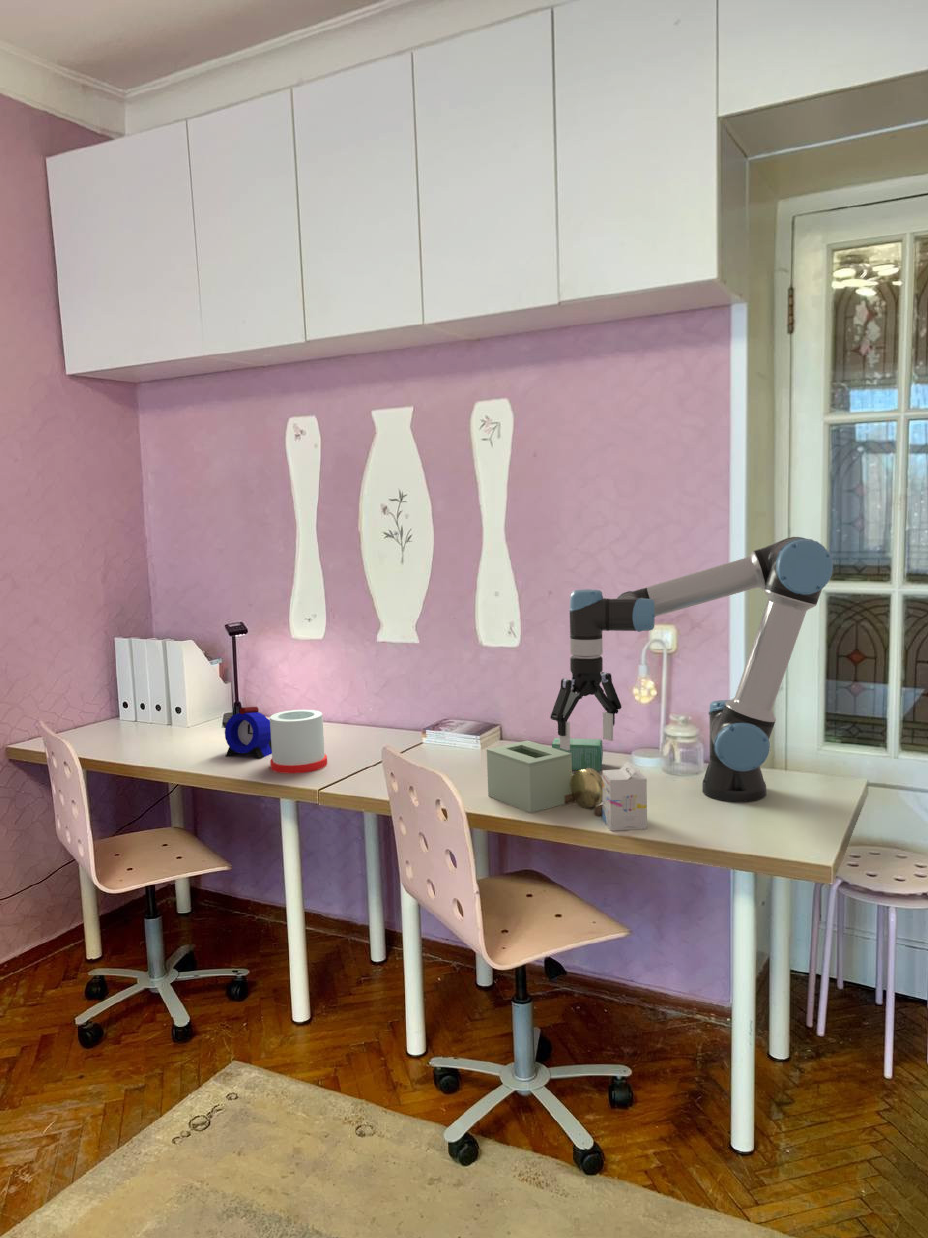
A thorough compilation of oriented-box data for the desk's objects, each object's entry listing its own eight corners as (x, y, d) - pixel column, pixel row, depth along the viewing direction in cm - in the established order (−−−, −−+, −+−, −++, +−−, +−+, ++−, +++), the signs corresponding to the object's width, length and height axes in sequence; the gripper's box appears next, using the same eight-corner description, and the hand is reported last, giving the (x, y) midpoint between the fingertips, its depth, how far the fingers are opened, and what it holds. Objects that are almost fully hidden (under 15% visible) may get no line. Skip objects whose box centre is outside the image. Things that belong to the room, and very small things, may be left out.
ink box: (601, 818, 218) (600, 762, 217) (637, 816, 219) (637, 760, 217) (610, 831, 210) (609, 772, 208) (648, 829, 210) (647, 770, 209)
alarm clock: (223, 757, 284) (220, 708, 282) (247, 747, 295) (244, 699, 293) (258, 760, 279) (255, 710, 278) (281, 749, 291) (278, 701, 289)
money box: (572, 801, 231) (571, 753, 230) (530, 813, 224) (529, 763, 222) (529, 785, 245) (527, 740, 244) (488, 796, 238) (486, 749, 236)
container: (259, 770, 268) (255, 719, 267) (292, 756, 283) (289, 707, 281) (306, 775, 262) (303, 723, 260) (338, 760, 276) (335, 711, 274)
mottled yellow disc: (581, 803, 232) (578, 766, 231) (606, 808, 224) (603, 770, 224) (572, 805, 230) (568, 768, 230) (597, 810, 222) (593, 772, 222)
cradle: (618, 811, 223) (618, 802, 223) (599, 816, 220) (599, 808, 219) (579, 797, 234) (579, 789, 234) (561, 802, 231) (561, 794, 231)
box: (601, 771, 256) (601, 744, 255) (551, 770, 259) (550, 743, 258) (603, 764, 263) (602, 737, 262) (554, 763, 266) (553, 737, 265)
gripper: (614, 648, 232) (614, 732, 235) (534, 659, 219) (535, 749, 221) (636, 651, 226) (636, 738, 229) (555, 664, 212) (556, 756, 215)
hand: (586, 744), depth 225 cm, fingers open, 13 cm apart
